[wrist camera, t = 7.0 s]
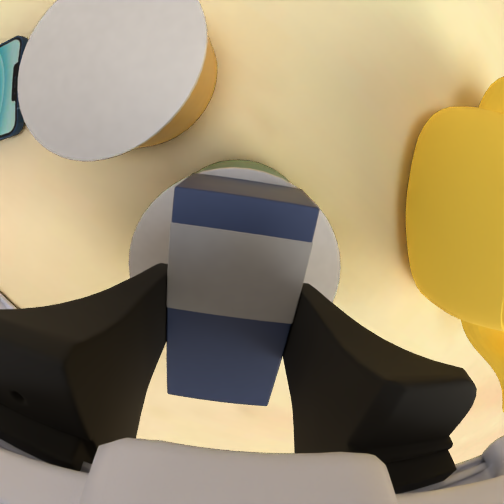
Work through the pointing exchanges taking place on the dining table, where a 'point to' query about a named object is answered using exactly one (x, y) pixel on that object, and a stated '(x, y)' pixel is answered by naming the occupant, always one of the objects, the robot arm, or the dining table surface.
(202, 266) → the block
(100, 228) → the dining table surface
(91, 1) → the ochre yogurt pot
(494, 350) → the teapot
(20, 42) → the smartphone
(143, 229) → the yogurt pot
